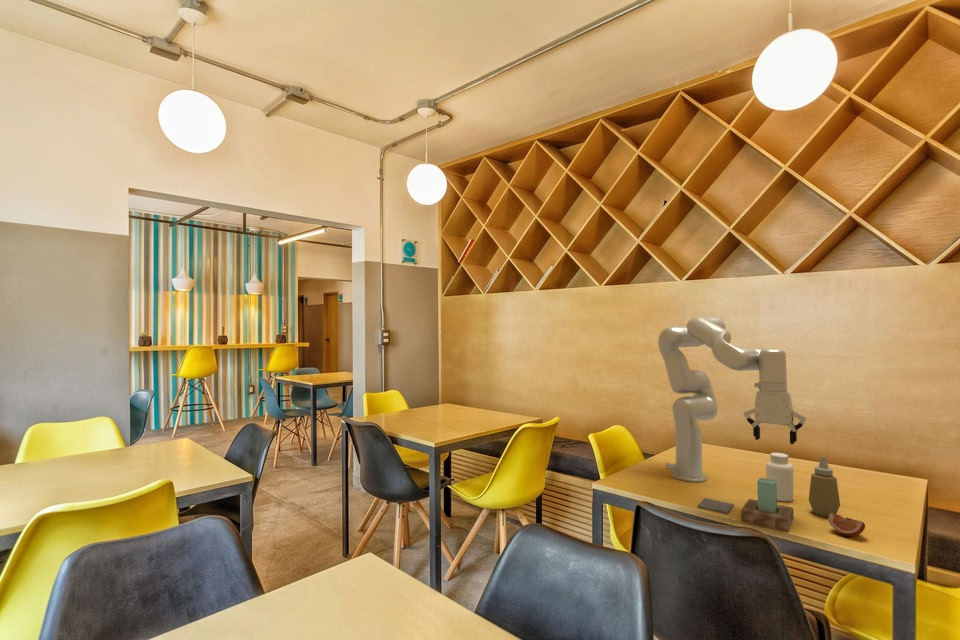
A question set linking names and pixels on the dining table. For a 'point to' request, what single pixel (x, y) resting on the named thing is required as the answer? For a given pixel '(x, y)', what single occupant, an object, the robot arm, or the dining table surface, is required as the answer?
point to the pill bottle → (781, 475)
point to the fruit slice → (846, 525)
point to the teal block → (767, 495)
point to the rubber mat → (715, 505)
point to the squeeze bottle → (824, 490)
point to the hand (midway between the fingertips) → (774, 441)
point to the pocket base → (767, 516)
